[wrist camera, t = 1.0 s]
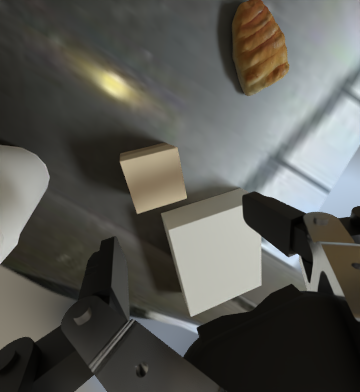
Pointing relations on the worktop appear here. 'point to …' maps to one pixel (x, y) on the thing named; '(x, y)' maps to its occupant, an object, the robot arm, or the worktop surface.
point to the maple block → (153, 176)
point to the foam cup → (18, 192)
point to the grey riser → (213, 250)
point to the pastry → (257, 47)
